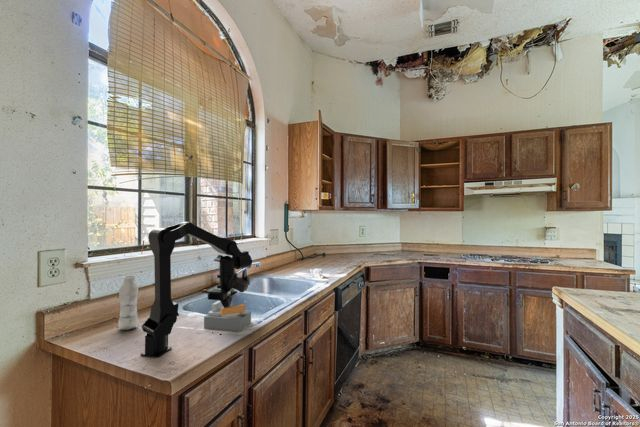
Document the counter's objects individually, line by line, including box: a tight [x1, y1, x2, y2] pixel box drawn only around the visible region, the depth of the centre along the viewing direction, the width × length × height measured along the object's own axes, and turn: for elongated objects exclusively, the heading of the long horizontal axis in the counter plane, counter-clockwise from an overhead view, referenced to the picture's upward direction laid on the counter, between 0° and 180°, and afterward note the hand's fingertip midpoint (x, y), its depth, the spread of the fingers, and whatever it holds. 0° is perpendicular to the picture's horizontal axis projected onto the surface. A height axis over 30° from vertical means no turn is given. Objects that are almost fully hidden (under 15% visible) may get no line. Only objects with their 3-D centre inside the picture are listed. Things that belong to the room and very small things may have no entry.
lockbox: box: [203, 310, 252, 333], centre depth 118 cm, size 10×15×5 cm, turn 79°
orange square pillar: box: [220, 303, 246, 316], centre depth 114 cm, size 2×9×4 cm, turn 126°
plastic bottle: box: [117, 275, 140, 331], centre depth 112 cm, size 6×7×20 cm
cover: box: [207, 300, 224, 316], centre depth 119 cm, size 7×5×4 cm
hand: (227, 310), depth 116 cm, fingers closed
